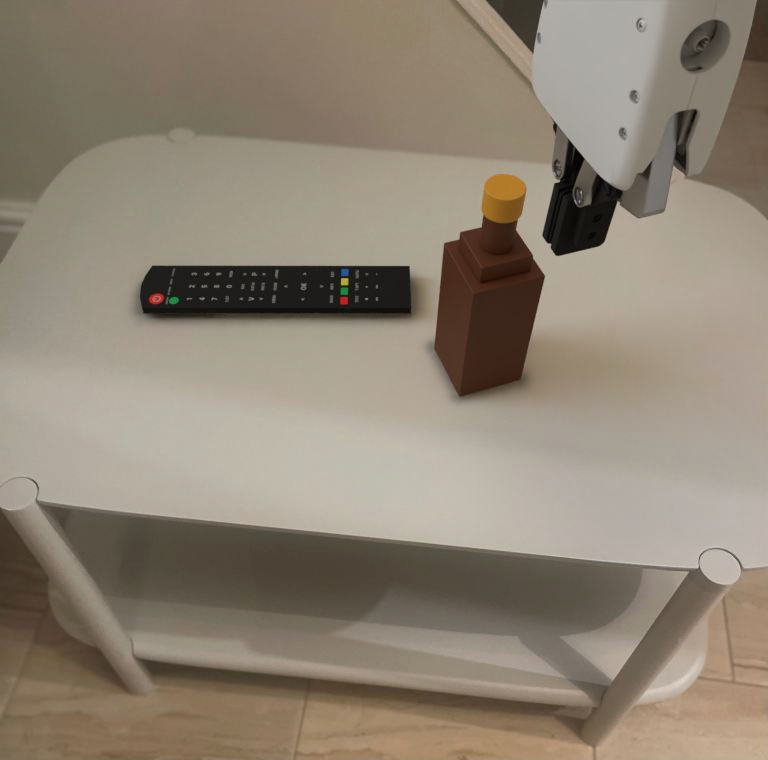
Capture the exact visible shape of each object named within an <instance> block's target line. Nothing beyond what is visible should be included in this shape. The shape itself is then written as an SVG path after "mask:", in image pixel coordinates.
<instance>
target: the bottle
mask: <svg viewBox="0 0 768 760" xmlns="http://www.w3.org/2000/svg"><path fill="white" fill-rule="evenodd" d="M482 192H483V193H482V198H481V199H482V200H481V207H480V209H481V212H482V221H481V227H477V228H472V229H471V228H470V229H467V230H463V231H460V232H459V238H458V239H455V240H451V241H447V242H443V250H442V259H441V260H442V261H441V272H440V283H439V293H438V304H437V314H436V326H435V335H434V348H433V349H434V350H435V352H436V354H437V356H438V358H439V360H440V362H441V364H442V366H443V368H444V370H445V372H446V374H447V376H448V378H449V379H450V382H451V384H452V385H453V389H454V390H455V391H456V393H457V396H458V397H464V396H467V395H470V394H474V393H477V392H481V391H485V390H488V389H492V388H495V387H499V386H503V385H506V384H510V383H513V382H517V381H521V380H522V375H523V371H524V367H525V364H526V359H527V355H528V351H529V347H530V342H531V338H532V334H533V328H534V325H535V320H536V316H537V313H538V309H539V304H540V300H541V296H542V291H543V288H544V283H545V279H546V275H545V273H544V272H543V270H542V269H541V267H540V266H539V265H538V263H537V261H536V260H535V258H534V254H533V253H532V251H531V250H530V249H529V247H528V245H527V244H526V242H525V241H524V240H523V238H522V237H521V235H520V234H519V232H518V231H517V226H518V222H519V219H520V218H521V217H522V215H523V212H524V211H523V210H524V205H525V201H526V195H527V184H526V183H525V181H523V180H522V179H521V178H520V177H518V176H516V175H513V174H509V173H499V174H494V175H492V176H490V177H488V178H487V179H486V181H484V185H483V191H482Z"/></svg>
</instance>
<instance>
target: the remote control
mask: <svg viewBox="0 0 768 760" xmlns="http://www.w3.org/2000/svg"><path fill="white" fill-rule="evenodd" d="M411 291H412V290H411V267H410V265H151V267H150V268H149V269H148V271H147V272H146V274H144V277H143V279H142V282H141V285H140V291H139V300H140V301H139V302H140V306H141V309H142V313H143V314H257V315H258V314H260V315H261V314H262V315H263V314H273V315H274V314H275V315H276V314H285V315H286V314H291V315H292V314H293V315H294V314H301V315H302V314H308V315H309V314H311V315H312V314H313V315H314V314H316V315H317V314H320V315H321V314H323V315H325V314H335V315H336V314H337V315H339V314H343V315H344V314H346V315H347V314H348V315H350V314H352V315H353V314H356V315H357V314H361V315H362V314H365V315H366V314H374V315H376V314H377V315H378V314H381V315H382V314H386V315H387V314H392V315H393V314H396V315H397V314H400V315H401V314H402V315H403V314H408V315H409V314H412V292H411Z"/></svg>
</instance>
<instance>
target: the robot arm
mask: <svg viewBox="0 0 768 760" xmlns="http://www.w3.org/2000/svg"><path fill="white" fill-rule="evenodd" d="M757 2H758V0H543V2H542V6H541V11H540V15H539V19H538V25H537V29H536V35H535V41H534V47H533V55H532V61H531V70H530V71H531V73H530V80H531V81H530V82H531V86H532V89H533V92H534V94H535V96H536V98H537V100H538V102H539V103H540V104H541V106H542V107H543V109H545V111H546V112H547V113H548V115H549V117H550V118H551V120H552V122H553V124H552V129H553V132H554V135H555V137H554V146H553V152H552V153H553V154H552V159H551V170H552V175H553V177H554V178H555V179H556V180H557V181H558V182H554V183H553V187H552V192H551V196H550V201H549V205H548V209H547V213H546V217H545V221H544V225H543V229H542V233H541V234H542V235H541V237H542V238H543V239H544V241H545V243H546V244H548V245H550V250H551V251H552V252H553V254H554V256H556V257H560V256H565V255H570V254H574V253H578V252H581V251H586V250H590V249H595V248H598V247H600V246H602V245H603V244H604V243H605V242H606V239H607V235H608V232H609V231H610V230H609V229H610V226H611V223H612V220H613V218H614V214H615V212H616V208H617V205H618V203H619V206H621V208H623V209H624V210H626V211H627V212H628V213H629V214H630V215H632V216H634V217H635V218H637V219H643V218H647V217H651V216H656V215H661V214H663V213H665V211H666V209H667V205H668V197H669V193H670V186H671V180H672V176H673V170H674V168H676V170H678V171H679V172H680V173H682V174H683V175H684V176H685V177H686V178H689V177H691V176H697V175H700V173H702V171H703V169H704V168H705V166H706V165H707V162H708V161H709V158H710V156H711V154H712V151H713V149H714V146H715V144H716V141H717V138H718V135H719V133H720V130H721V128H722V125H723V123H724V120H725V117H726V113H727V111H728V109H729V105H730V102H731V100H732V96H733V92H734V90H735V86H736V84H737V82H738V81H737V80H738V78H739V74H740V70H741V67H742V64H743V60H744V57H745V55H746V51H747V46H748V41H749V37H750V33H751V29H752V26H753V20H754V16H755V11H756V7H757Z"/></svg>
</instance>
